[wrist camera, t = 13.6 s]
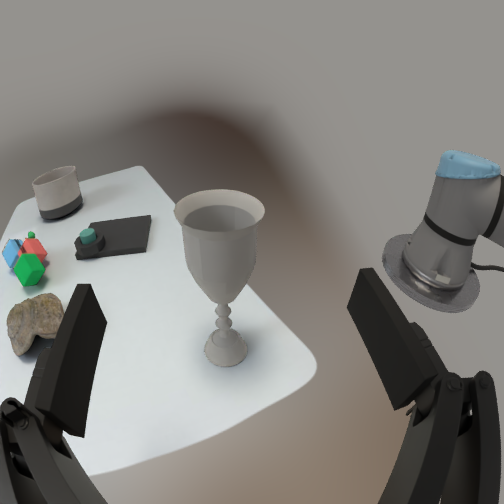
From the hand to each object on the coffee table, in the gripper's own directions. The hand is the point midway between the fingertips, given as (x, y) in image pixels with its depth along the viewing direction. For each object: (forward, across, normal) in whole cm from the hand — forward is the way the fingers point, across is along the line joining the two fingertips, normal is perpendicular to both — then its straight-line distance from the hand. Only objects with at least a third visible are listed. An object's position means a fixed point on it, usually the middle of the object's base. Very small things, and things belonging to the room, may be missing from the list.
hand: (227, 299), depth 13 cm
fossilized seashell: (+12, -26, -18) cm, 34 cm away
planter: (+52, -42, -18) cm, 69 cm away
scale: (+36, -20, -18) cm, 45 cm away
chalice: (+10, 0, -18) cm, 21 cm away
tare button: (+32, -24, -15) cm, 43 cm away
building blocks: (+26, -38, -18) cm, 49 cm away
